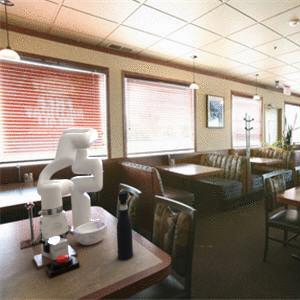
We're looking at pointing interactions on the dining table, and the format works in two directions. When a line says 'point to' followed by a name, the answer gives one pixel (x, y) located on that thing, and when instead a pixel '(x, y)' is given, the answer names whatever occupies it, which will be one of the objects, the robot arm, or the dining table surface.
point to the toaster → (56, 247)
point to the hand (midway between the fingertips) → (54, 249)
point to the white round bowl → (90, 233)
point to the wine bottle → (124, 229)
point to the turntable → (43, 260)
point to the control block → (62, 266)
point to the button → (62, 258)
